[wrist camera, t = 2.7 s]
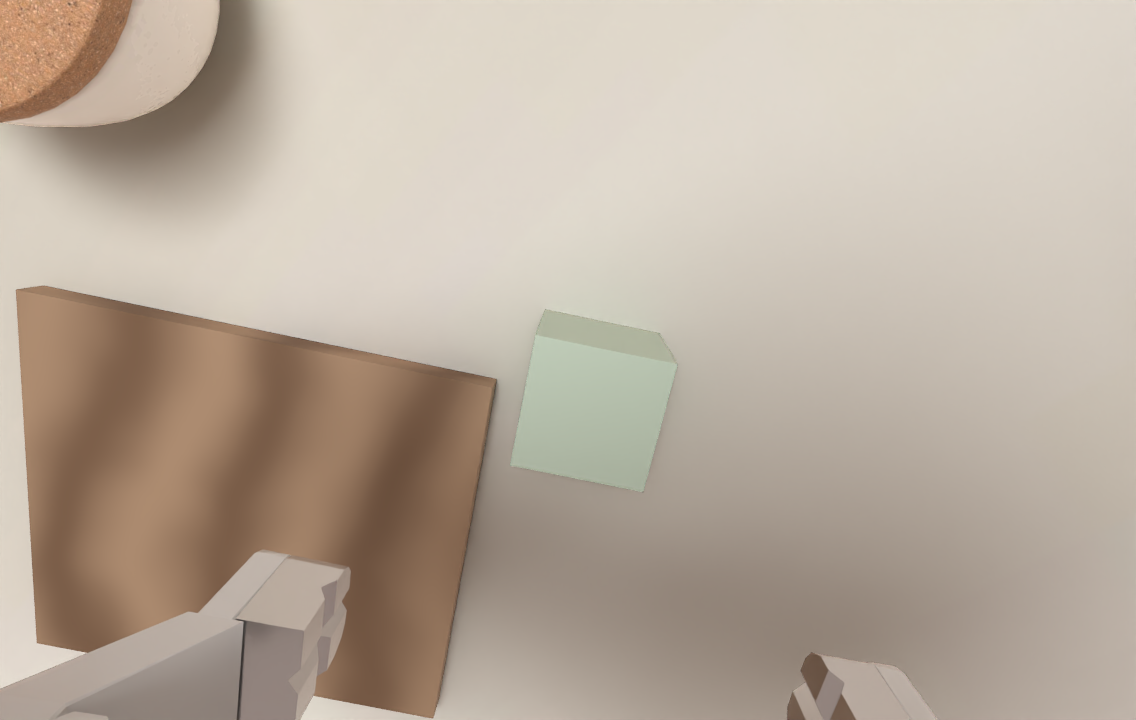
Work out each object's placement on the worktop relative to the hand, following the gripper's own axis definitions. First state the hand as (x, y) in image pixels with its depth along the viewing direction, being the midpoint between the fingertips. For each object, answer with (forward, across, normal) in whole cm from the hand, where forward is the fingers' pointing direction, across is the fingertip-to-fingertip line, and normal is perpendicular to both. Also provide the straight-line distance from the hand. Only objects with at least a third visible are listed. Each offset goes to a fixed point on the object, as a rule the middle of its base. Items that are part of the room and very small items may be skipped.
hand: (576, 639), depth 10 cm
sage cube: (+15, -1, 0) cm, 16 cm away
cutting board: (+16, +13, +10) cm, 23 cm away
